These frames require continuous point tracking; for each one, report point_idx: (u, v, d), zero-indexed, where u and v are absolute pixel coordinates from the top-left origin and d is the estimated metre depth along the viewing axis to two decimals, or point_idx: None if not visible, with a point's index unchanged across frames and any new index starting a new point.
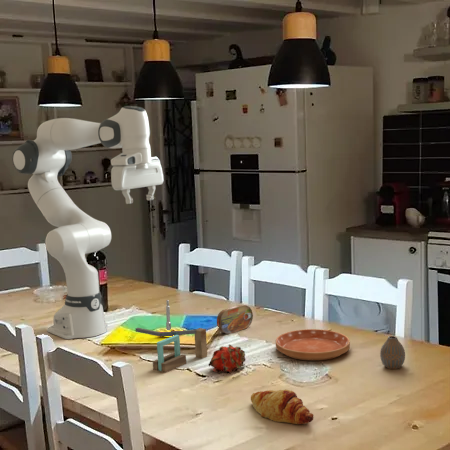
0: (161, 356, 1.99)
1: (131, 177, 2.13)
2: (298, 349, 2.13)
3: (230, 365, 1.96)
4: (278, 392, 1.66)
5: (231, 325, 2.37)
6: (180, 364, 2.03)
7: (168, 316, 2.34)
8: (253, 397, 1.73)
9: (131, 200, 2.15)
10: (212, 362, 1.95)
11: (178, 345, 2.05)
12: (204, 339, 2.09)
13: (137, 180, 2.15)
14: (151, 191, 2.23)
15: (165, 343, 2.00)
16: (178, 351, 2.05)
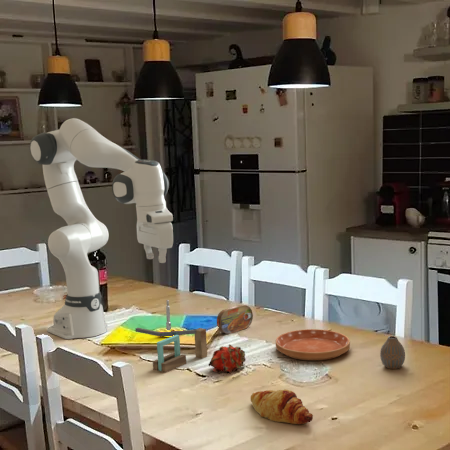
0: (161, 356, 1.99)
1: None
2: (298, 349, 2.13)
3: (230, 365, 1.96)
4: (277, 392, 1.66)
5: (231, 325, 2.37)
6: (180, 364, 2.03)
7: (168, 316, 2.34)
8: (253, 397, 1.73)
9: None
10: (212, 362, 1.95)
11: (178, 345, 2.05)
12: (204, 339, 2.09)
13: None
14: (149, 249, 2.11)
15: (165, 343, 2.00)
16: (178, 351, 2.05)
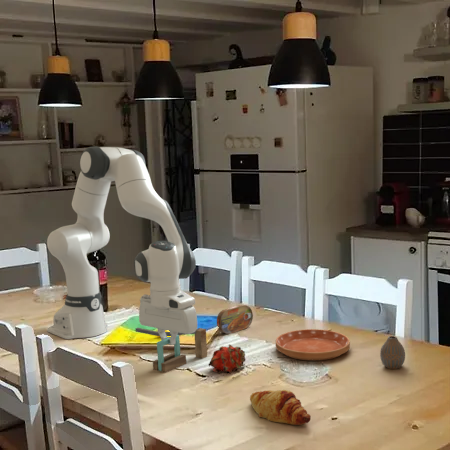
0: (161, 356, 1.99)
1: None
2: (298, 349, 2.13)
3: (230, 365, 1.96)
4: (276, 392, 1.66)
5: (231, 325, 2.37)
6: (180, 364, 2.03)
7: None
8: (252, 397, 1.73)
9: None
10: (212, 362, 1.95)
11: (178, 345, 2.05)
12: (204, 339, 2.09)
13: None
14: (163, 333, 2.03)
15: (165, 343, 2.00)
16: (178, 351, 2.05)
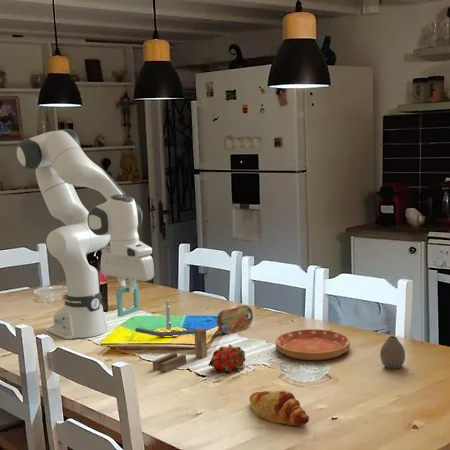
0: (120, 303, 2.12)
1: None
2: (298, 349, 2.13)
3: (230, 365, 1.96)
4: (275, 393, 1.66)
5: (231, 325, 2.37)
6: (180, 364, 2.03)
7: (168, 316, 2.34)
8: (251, 397, 1.73)
9: None
10: (212, 362, 1.95)
11: (137, 293, 2.17)
12: (204, 339, 2.09)
13: None
14: (123, 282, 2.16)
15: (124, 291, 2.13)
16: (137, 299, 2.17)
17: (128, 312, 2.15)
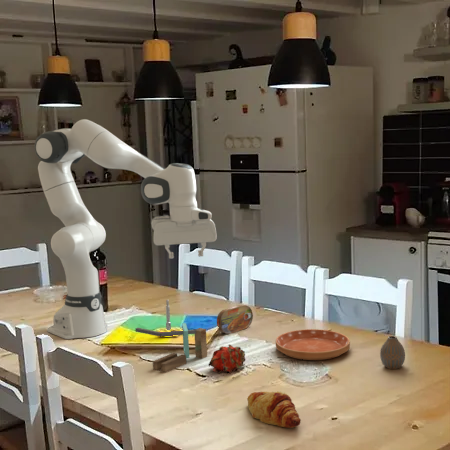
0: (188, 343, 2.06)
1: None
2: (298, 349, 2.13)
3: (230, 365, 1.96)
4: (269, 394, 1.65)
5: (231, 325, 2.37)
6: (180, 364, 2.03)
7: (168, 316, 2.34)
8: (249, 397, 1.73)
9: None
10: (212, 362, 1.95)
11: None
12: (204, 339, 2.09)
13: None
14: None
15: None
16: None
17: None
